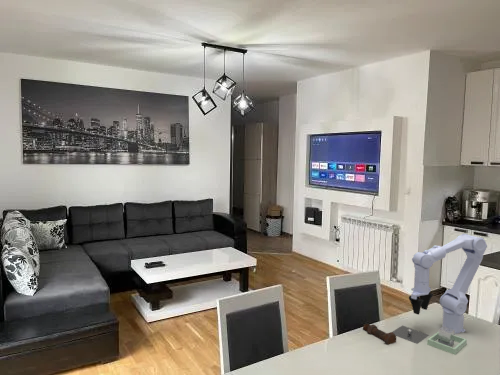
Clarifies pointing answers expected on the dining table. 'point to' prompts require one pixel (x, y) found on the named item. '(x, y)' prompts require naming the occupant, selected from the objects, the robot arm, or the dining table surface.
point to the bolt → (380, 334)
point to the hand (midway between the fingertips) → (420, 311)
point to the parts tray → (446, 348)
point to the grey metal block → (446, 336)
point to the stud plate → (410, 334)
